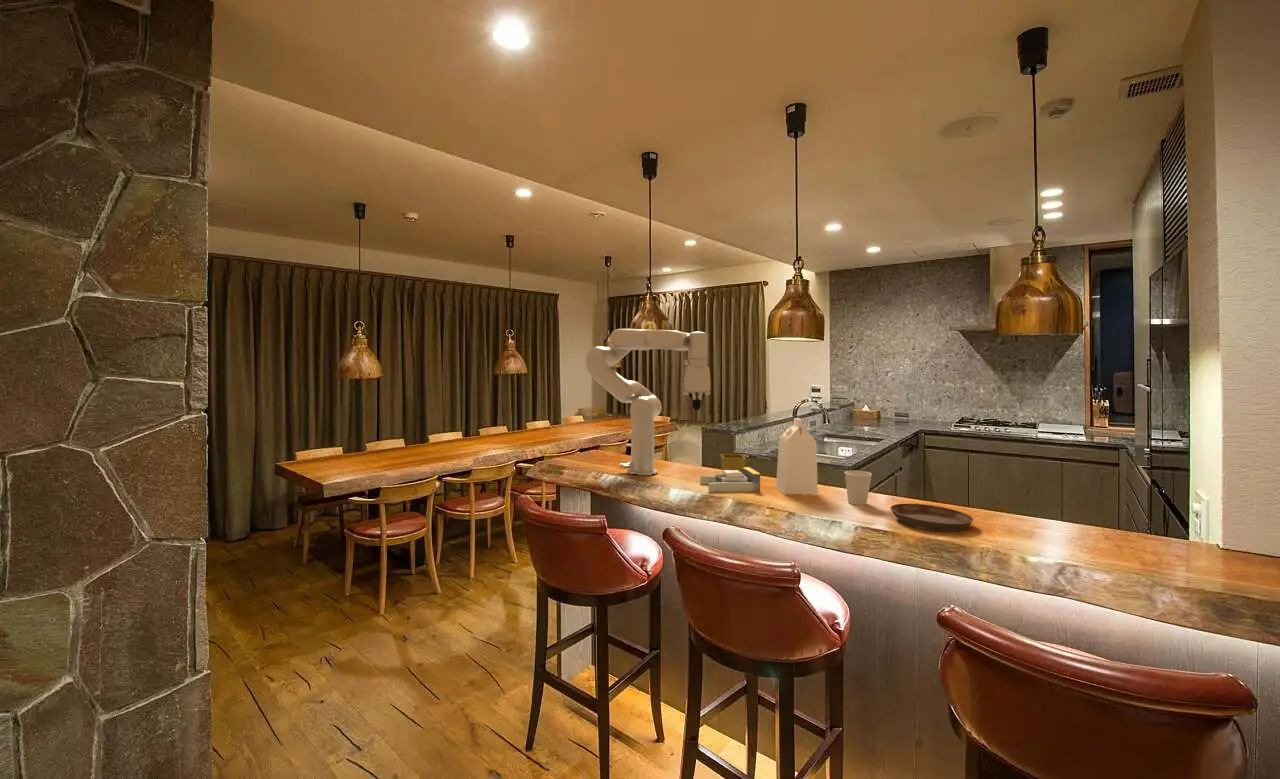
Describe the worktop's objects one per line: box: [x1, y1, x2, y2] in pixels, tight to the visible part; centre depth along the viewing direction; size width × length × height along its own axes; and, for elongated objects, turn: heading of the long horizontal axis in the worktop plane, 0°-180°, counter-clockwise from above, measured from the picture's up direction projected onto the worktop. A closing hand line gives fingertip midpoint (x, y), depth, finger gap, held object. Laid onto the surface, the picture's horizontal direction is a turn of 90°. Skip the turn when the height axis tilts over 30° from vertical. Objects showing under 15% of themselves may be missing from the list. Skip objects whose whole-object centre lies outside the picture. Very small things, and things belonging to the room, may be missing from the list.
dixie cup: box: [844, 470, 873, 506], centre depth 172 cm, size 8×8×10 cm
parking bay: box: [699, 466, 761, 493], centre depth 192 cm, size 19×15×6 cm
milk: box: [775, 417, 819, 496], centre depth 188 cm, size 12×12×26 cm
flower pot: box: [720, 453, 747, 474], centre depth 210 cm, size 9×9×9 cm
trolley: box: [714, 470, 747, 482], centre depth 192 cm, size 10×7×6 cm
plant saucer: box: [890, 503, 974, 532], centre depth 150 cm, size 21×21×3 cm
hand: (696, 409), depth 209 cm, fingers closed
